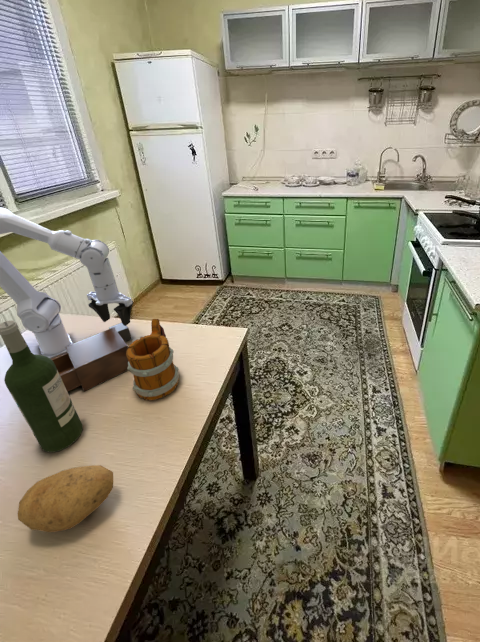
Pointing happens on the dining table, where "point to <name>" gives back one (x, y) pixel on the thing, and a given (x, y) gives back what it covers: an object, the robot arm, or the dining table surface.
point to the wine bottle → (39, 393)
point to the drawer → (66, 371)
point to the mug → (152, 364)
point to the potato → (65, 498)
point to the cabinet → (98, 357)
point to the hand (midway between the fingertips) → (116, 322)
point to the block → (122, 331)
